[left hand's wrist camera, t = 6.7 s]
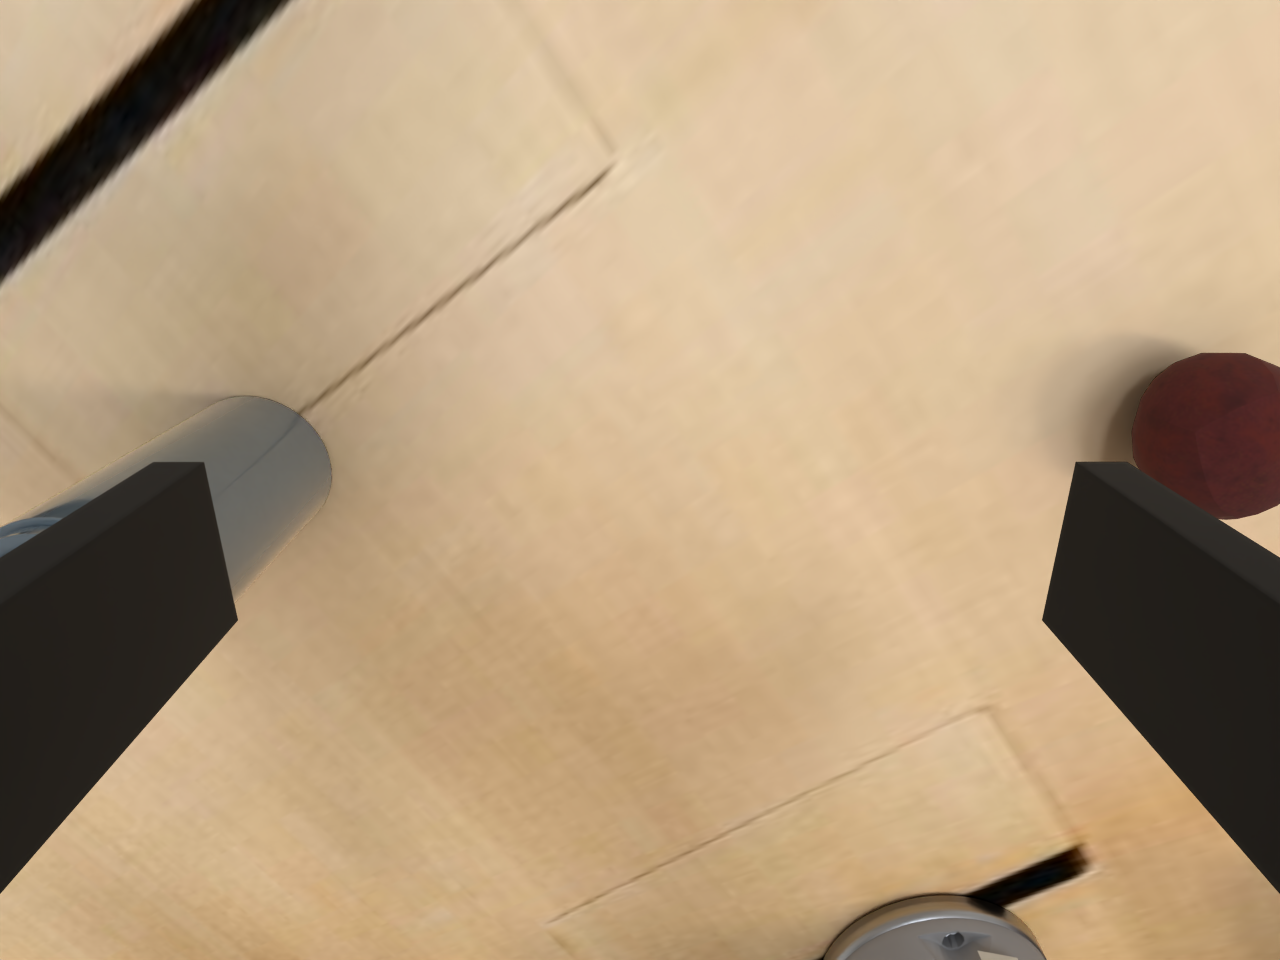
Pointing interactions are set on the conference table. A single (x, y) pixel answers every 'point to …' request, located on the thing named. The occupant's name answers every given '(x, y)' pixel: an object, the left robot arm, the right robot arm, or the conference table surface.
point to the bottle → (221, 481)
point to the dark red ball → (1213, 433)
